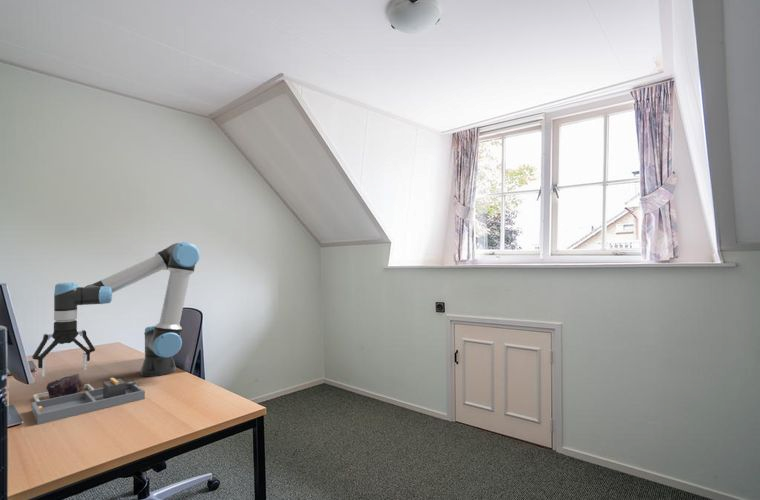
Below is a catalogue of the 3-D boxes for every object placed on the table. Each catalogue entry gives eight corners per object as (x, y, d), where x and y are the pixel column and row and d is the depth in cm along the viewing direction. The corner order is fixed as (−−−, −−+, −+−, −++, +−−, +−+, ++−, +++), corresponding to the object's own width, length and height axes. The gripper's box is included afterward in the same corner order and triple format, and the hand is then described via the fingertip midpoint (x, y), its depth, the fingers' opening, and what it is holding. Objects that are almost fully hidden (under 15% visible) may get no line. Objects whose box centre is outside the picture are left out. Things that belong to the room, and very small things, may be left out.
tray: (88, 387, 178) (88, 383, 178) (97, 396, 166) (97, 392, 166) (33, 398, 165) (33, 394, 165) (39, 408, 153) (39, 404, 153)
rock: (51, 399, 167) (48, 406, 158) (46, 379, 166) (43, 385, 158) (85, 389, 173) (84, 395, 165) (81, 370, 173) (80, 375, 164)
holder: (132, 389, 174) (132, 371, 175) (144, 398, 163) (144, 379, 163) (31, 411, 151) (31, 390, 151) (37, 424, 139) (37, 401, 139)
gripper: (99, 316, 177) (98, 365, 177) (24, 322, 159) (23, 376, 159) (103, 318, 172) (102, 368, 172) (26, 325, 154) (25, 381, 154)
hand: (64, 372), depth 165 cm, fingers open, 13 cm apart
